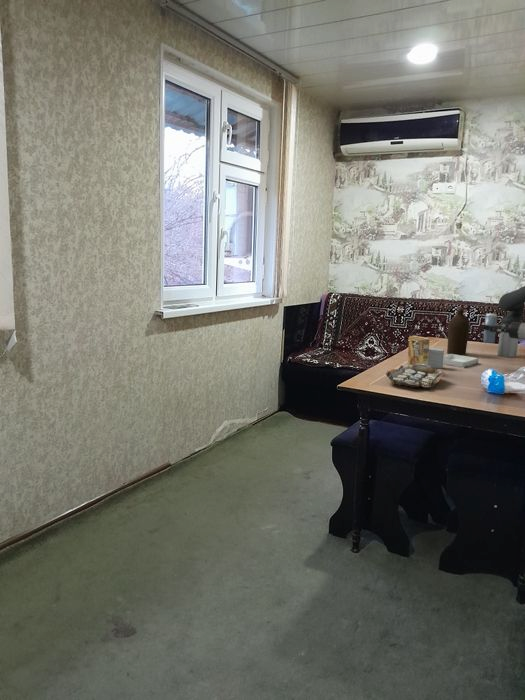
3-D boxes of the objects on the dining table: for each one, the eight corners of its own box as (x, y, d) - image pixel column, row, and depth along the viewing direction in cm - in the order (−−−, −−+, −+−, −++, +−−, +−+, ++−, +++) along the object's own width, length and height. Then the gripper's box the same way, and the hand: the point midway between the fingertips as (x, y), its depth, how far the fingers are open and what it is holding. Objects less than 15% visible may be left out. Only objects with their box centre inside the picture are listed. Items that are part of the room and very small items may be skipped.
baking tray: (434, 395, 201) (436, 382, 200) (379, 386, 211) (380, 373, 210) (447, 379, 227) (448, 367, 226) (397, 371, 237) (398, 360, 236)
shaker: (485, 340, 251) (488, 313, 249) (496, 342, 248) (499, 314, 245) (481, 341, 248) (484, 313, 245) (491, 343, 244) (494, 315, 242)
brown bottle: (452, 356, 277) (457, 308, 272) (442, 352, 287) (446, 306, 282) (470, 355, 279) (475, 308, 274) (459, 351, 289) (463, 306, 284)
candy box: (427, 371, 239) (430, 338, 236) (421, 372, 237) (424, 338, 234) (412, 367, 247) (415, 335, 244) (406, 368, 244) (408, 335, 241)
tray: (450, 358, 270) (451, 353, 269) (477, 363, 260) (478, 358, 259) (435, 362, 259) (436, 357, 258) (463, 367, 249) (463, 362, 248)
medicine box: (442, 367, 249) (444, 349, 248) (441, 369, 245) (443, 350, 244) (425, 365, 252) (427, 347, 251) (424, 367, 248) (425, 349, 247)
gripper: (528, 321, 241) (491, 317, 253) (517, 324, 231) (478, 319, 243) (526, 337, 242) (489, 332, 254) (515, 340, 232) (477, 335, 244)
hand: (484, 326), depth 248 cm, fingers closed on shaker, 5 cm apart
